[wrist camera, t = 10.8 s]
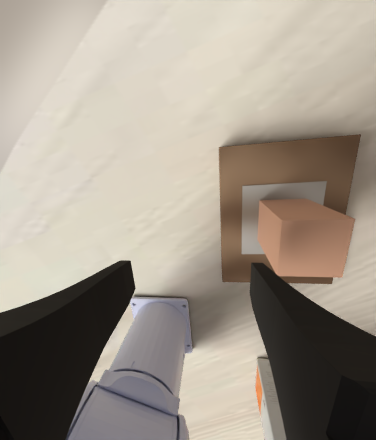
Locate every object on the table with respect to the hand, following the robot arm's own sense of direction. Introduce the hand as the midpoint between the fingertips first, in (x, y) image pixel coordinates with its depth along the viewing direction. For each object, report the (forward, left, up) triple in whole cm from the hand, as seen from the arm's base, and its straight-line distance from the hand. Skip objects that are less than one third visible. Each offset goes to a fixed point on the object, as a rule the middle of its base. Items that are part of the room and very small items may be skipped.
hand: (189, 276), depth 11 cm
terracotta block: (+1, -8, -8) cm, 11 cm away
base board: (0, -8, -10) cm, 13 cm away
